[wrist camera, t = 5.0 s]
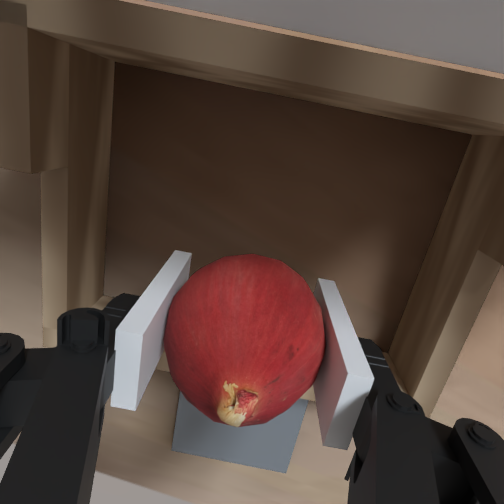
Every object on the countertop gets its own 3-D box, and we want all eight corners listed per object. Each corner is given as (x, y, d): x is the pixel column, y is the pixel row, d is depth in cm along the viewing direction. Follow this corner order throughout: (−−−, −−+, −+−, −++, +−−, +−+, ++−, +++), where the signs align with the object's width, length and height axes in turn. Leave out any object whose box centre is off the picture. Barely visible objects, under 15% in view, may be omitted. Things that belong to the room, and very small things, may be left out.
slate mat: (174, 440, 31) (171, 450, 30) (188, 346, 28) (185, 354, 27) (285, 462, 31) (285, 473, 30) (313, 371, 28) (315, 380, 27)
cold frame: (83, 308, 27) (9, 378, 20) (91, 28, 21) (-14, -27, 13) (400, 372, 27) (447, 466, 20) (507, 113, 21) (637, 106, 13)
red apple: (316, 337, 17) (353, 501, 10) (201, 347, 18) (152, 510, 10) (307, 222, 15) (343, 317, 8) (178, 237, 16) (96, 340, 8)
